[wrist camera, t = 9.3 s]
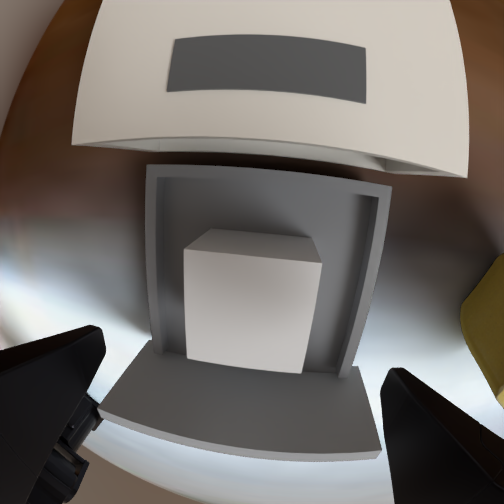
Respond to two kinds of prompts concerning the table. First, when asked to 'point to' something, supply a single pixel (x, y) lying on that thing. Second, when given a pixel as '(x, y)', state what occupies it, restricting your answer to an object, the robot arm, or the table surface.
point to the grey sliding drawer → (245, 379)
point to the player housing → (280, 81)
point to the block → (250, 299)
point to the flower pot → (487, 326)
